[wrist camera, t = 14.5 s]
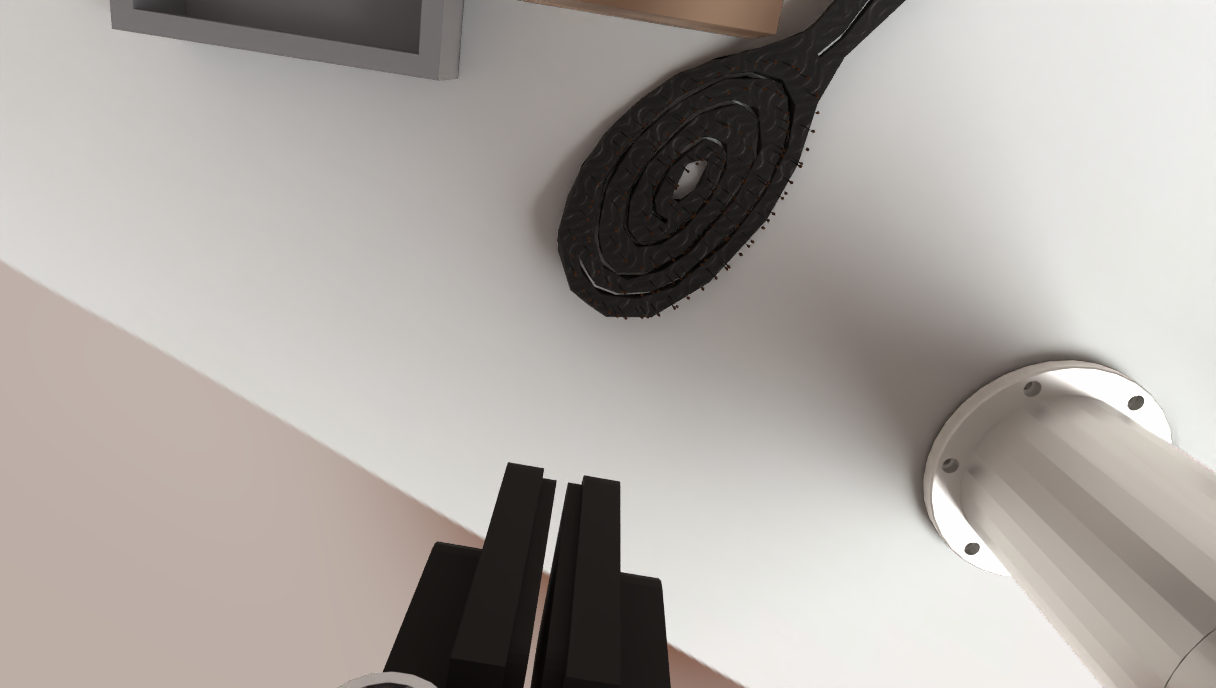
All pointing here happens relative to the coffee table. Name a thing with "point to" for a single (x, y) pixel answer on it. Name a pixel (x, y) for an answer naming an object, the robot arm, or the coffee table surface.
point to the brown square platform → (689, 13)
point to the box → (314, 30)
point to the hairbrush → (737, 133)
